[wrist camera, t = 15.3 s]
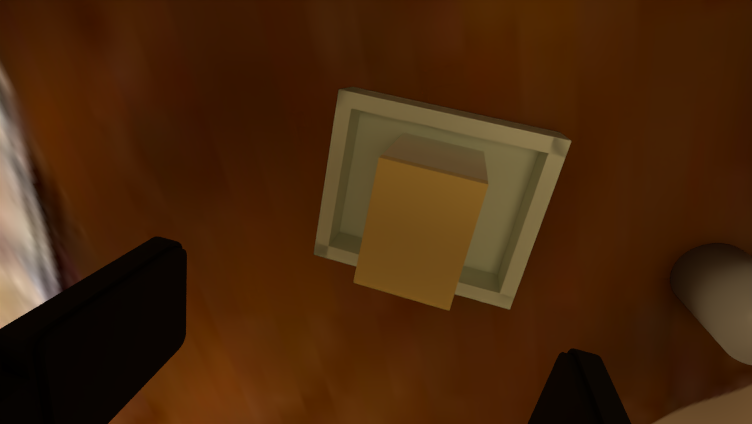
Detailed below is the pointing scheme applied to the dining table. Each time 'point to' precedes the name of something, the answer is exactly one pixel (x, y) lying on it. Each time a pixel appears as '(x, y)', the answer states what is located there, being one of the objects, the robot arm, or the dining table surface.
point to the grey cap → (718, 294)
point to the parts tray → (493, 136)
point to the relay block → (421, 219)
